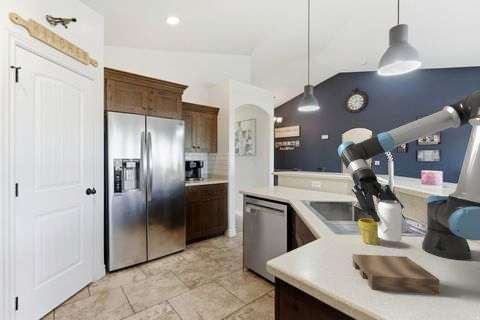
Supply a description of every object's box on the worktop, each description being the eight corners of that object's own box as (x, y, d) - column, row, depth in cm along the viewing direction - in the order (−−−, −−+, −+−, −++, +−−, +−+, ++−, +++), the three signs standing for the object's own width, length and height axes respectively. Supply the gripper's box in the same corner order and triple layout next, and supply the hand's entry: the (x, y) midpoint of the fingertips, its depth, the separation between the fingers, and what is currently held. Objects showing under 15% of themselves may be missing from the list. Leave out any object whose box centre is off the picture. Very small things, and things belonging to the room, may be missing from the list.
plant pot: (377, 238, 113) (377, 218, 113) (389, 246, 103) (389, 224, 103) (355, 238, 114) (355, 218, 114) (364, 246, 104) (364, 223, 104)
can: (390, 243, 72) (390, 203, 72) (372, 236, 78) (373, 200, 78) (406, 241, 74) (406, 202, 73) (388, 235, 80) (388, 199, 80)
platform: (406, 268, 82) (406, 256, 82) (439, 293, 67) (439, 279, 67) (352, 265, 85) (352, 254, 85) (372, 289, 69) (372, 275, 69)
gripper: (380, 180, 93) (416, 234, 77) (334, 180, 90) (362, 237, 74) (390, 167, 88) (431, 222, 72) (342, 167, 85) (374, 225, 69)
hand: (396, 230), depth 73 cm, fingers closed on can, 6 cm apart
